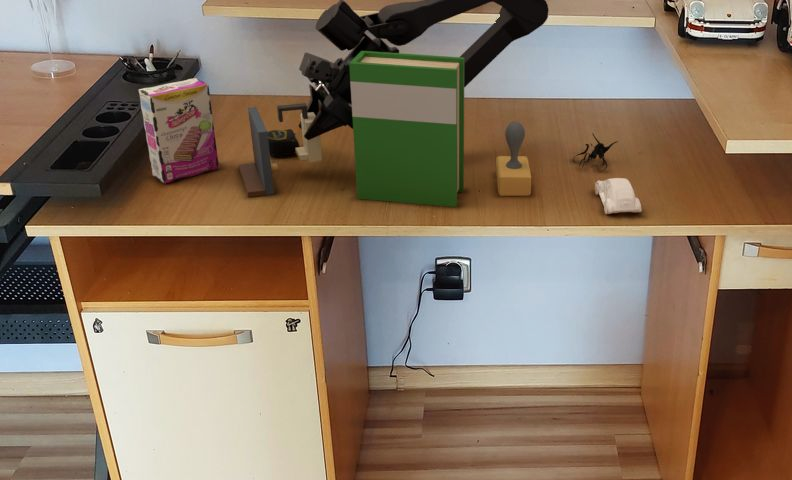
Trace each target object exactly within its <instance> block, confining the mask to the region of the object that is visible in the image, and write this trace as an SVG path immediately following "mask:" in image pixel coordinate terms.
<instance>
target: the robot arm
mask: <svg viewBox="0 0 792 480" xmlns="http://www.w3.org/2000/svg"><path fill="white" fill-rule="evenodd" d="M489 3H495V4H497V5H498V6H500V9H499V12H498V14H500V17H499V18H498V19H497V18H496V19H497V20H496V19H495V21H494V22H496V23H493V24H491V25H490V27H489V28H488V29H486V30H485V32H483V33H482V34H481V35H480V36H479V37H478V38H477V39H476V40H475V41H474V42H473V43H472V44H471V45H470V46H469V47H468V48H466V50H465V51H464V52H463V53H462V54H460V55H459V57H463V58H464V89H465V88H466V86H468V85H469V84H470V83H471V82H472V81H473V80H474V79H475V78H476V77H477V76H478V75H479V74H481V72H483V70H484V69H486V67H488V66H489V65H490V64H491V63H492V62H493V61H494V60H495V59H496V58H497V57H498V56H499V55H500V54H501V53H502V52H503V51H504V50H505V49H506V48H507V47H508V46H509V45H510V44H511V43H513V42H514V41H516V40H519V39H521V38H524V37H526V36H528V35H530V34H531V33H533V32H534V31H536V30H538V29H539V28H540V27H542V26H543V25H544V24H545V23H546V22H547V20H548V18H549V5H548V3H547V1H546V0H417V1H403V2H399V3H391V4H388V5H385V6H383V7H382V8H381V9H380V10H379V11H378V12H374V13H369V14H365V15H361V16H360V15H359V14H358V13H356V12H355V10H353V9H352V7H351V6H350V4H348V3H347V2H346V1H345V0H338V1H337V3H334V4H332V5H331V6H330V7H329V8H327V9H325V10H324V11H323V12H322V13H321V14H320V16H319V18H318V19H317V21H316V23H315V30H316V31H317V32H318V33H320V34H321V35H322V36H323V37H324V38H326V39H327V40H328V41H329V42H330V43H331V44H333V46H335V47H336V48H337V49H338V50H339V51H342V52H343V51H346V50H347V51H350V52H349V53H348V54H347V56H345V58H342V57H338V58H337V59H336V60H335V61H334V62H333V61H330V60H328V59H326V58H323V57H320V56H317V55H315V54H312V53H309V52H304V54H303V57H302V60H301V62H300V66H299V68H298V70H299V71H300V72H301V75H302V76H304V77H305V78H307V79H308V81H309V82H310V83H311V84H308V88H309V94H310V99H309V101H308V104H307V113H309V112H314V114H315V116H316V117H315V118H314V120H313V122H312V123H311V125H310V126H309V128H308V129H307V131H306V133H305V135H304V137H305V138H306V139H307V140H310V139H312V138H315V137H317V136H319V135H320V136H321V135H324V134H326V133H328V132H331V131H333V130H336V129H338V128H341V127H347V126H348V127H349V128H350V129H352V130H353V117H352V100H351V84H350V68H349V63H350V62H351V61H352V60H353V59H354V58H355V57H356V56H357V55H358V54H359V53H360V52H361V51H373V52H388V53H400V49H399V48H398V47H403V46H405V45H407V44H409V43H411V42H413V41H414V40H416V39H417V38H419V37H421V36H422V35H423V34H424V33H426V31H427V30H428V29H429V28H431V27H432V26H434V25H436V24H438V23H441V22H443V21H446V20H449V19H451V18H453V17H456V16H458V15H461V14H463V13H466V12H469V11H470V10H474V9H476V8H479V7H481V6H483V5H486V4H489ZM366 31H368V33H370V34H371V35H372V36H373V37H374V38H372V37H371V36H369V35H368V34H367V32H366ZM384 40H386V41H387V42H389V44H392V45H393V46H390V45H388V44H387V42H385V41H384ZM313 83H314V85H312V84H313ZM298 128H299V129H301V130H302V126H301V120H300V121H299V123H298Z"/></svg>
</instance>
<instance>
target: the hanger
mask: <svg viewBox="0 0 792 480" xmlns="http://www.w3.org/2000/svg"><path fill="white" fill-rule="evenodd" d="M307 106H308V104H306V103H305V102H301V103H292V104H291V103H290V104H281V105H280V104H279V105H277V106H276V111H277V119H278V122H279V123H284V117H283V112H291V111H299V110H300V111H301V113H300V114H299V115H300V121H301V126H302V129H301V135H302V145H303V146H299V147H297V148H295V149H296V153H295V154H296V156H297V158H298V160H299V161H308V163H313V162H322V161H323V153H322V143H321V135H319V136H317V137H315V138H312V139H310V140H307V139H306V138H305V137H304V135H305V133H306V131H307V129H308V128H309V126H310V125H311V123H312V122H313V120H314V118H315V117H316V116H315V114H314V112H309V113H307Z"/></svg>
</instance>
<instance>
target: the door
mask: <svg viewBox="0 0 792 480" xmlns="http://www.w3.org/2000/svg"><path fill="white" fill-rule="evenodd" d="M247 111H248V119H249V120H248V121H249V128H250V136H251V144H252V151H253V160H254V161H253V162H250V163H242V164H238V165H237V166H238V171H239V174H240V177H241V180H242V183H243V186H244V189H245V192H246V195H247V197H248V198H253V197H261V196H269V195H270V196H271V195H275V189H274V188H275V187H274V179H273V173H275V172H278V171H279V165H278V163H276V162H274V163H272V161H271V154H270V152H269V143H268V134H267V132H268V130H267V127H266V125H265V124H264V121H263V119H262V116H261V114H260V112H259V110H258V108H257V106H253V107H247Z"/></svg>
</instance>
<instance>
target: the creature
mask: <svg viewBox="0 0 792 480" xmlns="http://www.w3.org/2000/svg"><path fill="white" fill-rule="evenodd" d="M592 136H593V138H594V140H595V141H596V142H597V144H595V146H594V145H593V144H592V143H590V144H589V143H585V147H586V148H585V149H584V151H582V152H580V153H577V154H576V155H575V156H574V157H573V158H572V162H573V163H575V160H574V159H575V158H576V156H577V157H578V156H580V155H584V156H583V158H582V159H581V160H580V161H579V164H578V166H579V167H580V166H581V168H583V167H584V165H585V164H587V163H590V161H592V160H595V159H596V158H597V156H598V158H599V160H601V159H602V164H601V165H600V166H601V167H602V166H604V165H605V168H604V169H603V170H600V168H599V167H598V165H595V167H596V168H597V170H598V171H599V172H604V171H605V170H607V168H608V163H607V161H606V160H605V153H607V152H608V151H609V150H610V149H611V148H612V146H613V145H615V144H616V143H618V142H619V141H618V140H615V141H614V142H612V143H610V144H609V145H608V146H605V145H604V143H602V142H600V140H598V138H597V137H596V136H595V134H594V132H592ZM590 146H591V147H592V148H593V149H592V150H591V152H590V153H589V152H588V151H589V149H590ZM587 156H588V157H587ZM586 158H587V159H586ZM582 163H583V164H582ZM581 164H582V165H581Z"/></svg>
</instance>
